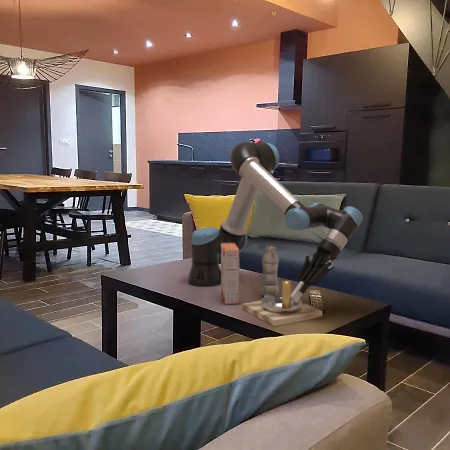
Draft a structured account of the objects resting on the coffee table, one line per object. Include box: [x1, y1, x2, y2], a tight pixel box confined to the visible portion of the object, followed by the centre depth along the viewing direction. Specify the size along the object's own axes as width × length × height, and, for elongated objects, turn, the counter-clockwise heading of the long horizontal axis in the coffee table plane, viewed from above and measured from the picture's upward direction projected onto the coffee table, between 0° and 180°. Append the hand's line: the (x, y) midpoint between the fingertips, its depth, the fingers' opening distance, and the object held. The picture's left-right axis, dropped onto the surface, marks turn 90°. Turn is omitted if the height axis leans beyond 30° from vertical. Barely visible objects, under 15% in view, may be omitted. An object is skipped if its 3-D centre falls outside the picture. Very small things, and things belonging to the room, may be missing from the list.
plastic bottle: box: [261, 244, 280, 296], centre depth 185 cm, size 6×7×20 cm
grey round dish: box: [261, 279, 303, 313], centre depth 164 cm, size 16×14×11 cm
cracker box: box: [220, 243, 240, 305], centre depth 181 cm, size 14×6×21 cm, turn 6°
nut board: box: [242, 300, 324, 327], centre depth 166 cm, size 20×20×2 cm
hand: (293, 299), depth 159 cm, fingers closed
